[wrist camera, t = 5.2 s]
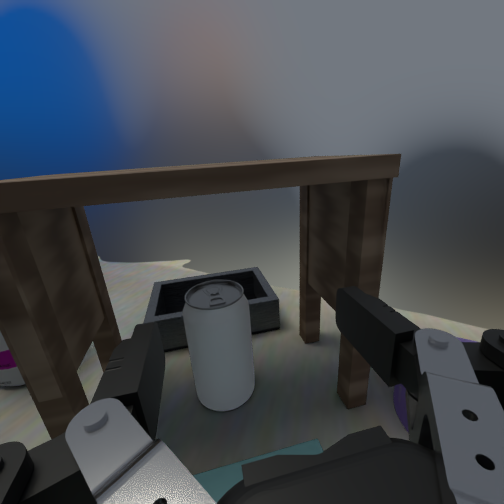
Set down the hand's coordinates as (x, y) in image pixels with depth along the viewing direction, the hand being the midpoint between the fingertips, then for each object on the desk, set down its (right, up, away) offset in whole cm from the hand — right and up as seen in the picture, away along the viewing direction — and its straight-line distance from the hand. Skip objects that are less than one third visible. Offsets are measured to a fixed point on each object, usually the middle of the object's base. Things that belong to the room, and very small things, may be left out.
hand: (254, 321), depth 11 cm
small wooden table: (-3, -12, +18) cm, 22 cm away
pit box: (-6, -7, +31) cm, 32 cm away
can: (-3, -12, +18) cm, 22 cm away
